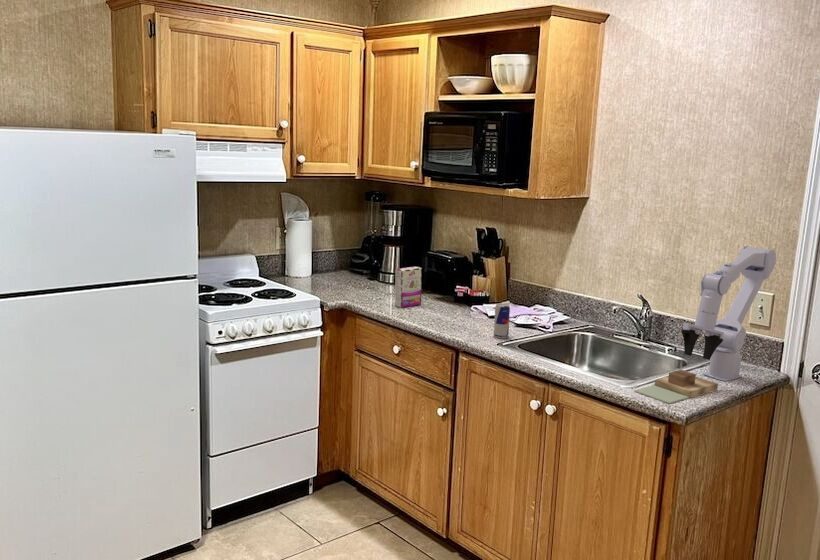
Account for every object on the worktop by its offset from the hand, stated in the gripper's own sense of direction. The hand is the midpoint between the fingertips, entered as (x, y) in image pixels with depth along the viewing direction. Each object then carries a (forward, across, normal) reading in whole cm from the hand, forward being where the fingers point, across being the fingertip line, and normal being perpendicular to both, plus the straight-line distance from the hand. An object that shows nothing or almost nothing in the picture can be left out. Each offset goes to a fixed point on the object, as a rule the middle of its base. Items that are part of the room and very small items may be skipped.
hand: (696, 357), depth 225 cm
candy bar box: (+11, -43, +122) cm, 130 cm away
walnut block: (+8, -4, -1) cm, 10 cm away
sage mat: (+13, -13, -3) cm, 18 cm away
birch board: (+10, -2, 0) cm, 10 cm away
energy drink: (+12, -28, +66) cm, 73 cm away
